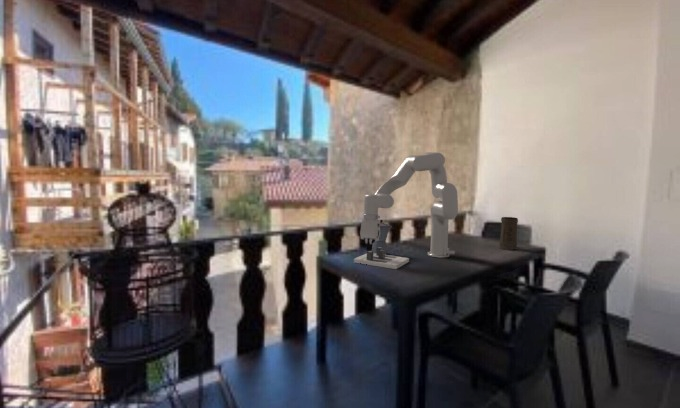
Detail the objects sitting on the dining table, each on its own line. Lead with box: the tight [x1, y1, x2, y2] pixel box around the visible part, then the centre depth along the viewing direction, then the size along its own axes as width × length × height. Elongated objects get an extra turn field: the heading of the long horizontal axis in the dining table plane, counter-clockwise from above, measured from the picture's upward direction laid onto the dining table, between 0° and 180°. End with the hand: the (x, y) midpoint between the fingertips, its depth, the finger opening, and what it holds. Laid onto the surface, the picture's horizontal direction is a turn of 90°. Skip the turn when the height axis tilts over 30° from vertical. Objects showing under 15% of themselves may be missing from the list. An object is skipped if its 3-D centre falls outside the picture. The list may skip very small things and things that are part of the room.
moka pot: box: [372, 219, 393, 255], centre depth 242 cm, size 10×15×20 cm, turn 78°
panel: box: [353, 252, 410, 270], centre depth 224 cm, size 24×18×2 cm
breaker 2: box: [376, 247, 383, 255], centre depth 230 cm, size 2×3×4 cm
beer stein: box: [498, 216, 519, 250], centre depth 265 cm, size 15×11×20 cm
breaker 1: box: [366, 251, 373, 260], centre depth 220 cm, size 2×3×4 cm
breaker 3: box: [378, 250, 386, 259], centre depth 223 cm, size 2×3×4 cm
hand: (369, 250), depth 227 cm, fingers closed
